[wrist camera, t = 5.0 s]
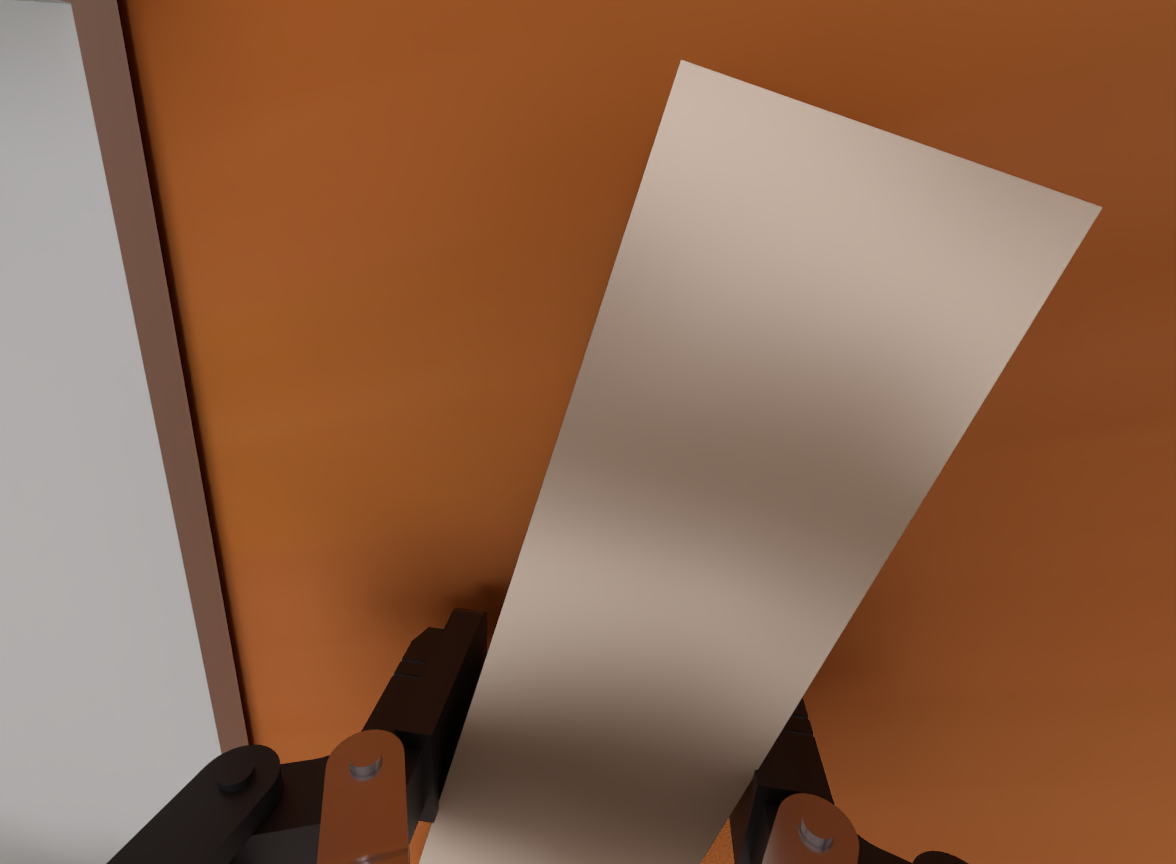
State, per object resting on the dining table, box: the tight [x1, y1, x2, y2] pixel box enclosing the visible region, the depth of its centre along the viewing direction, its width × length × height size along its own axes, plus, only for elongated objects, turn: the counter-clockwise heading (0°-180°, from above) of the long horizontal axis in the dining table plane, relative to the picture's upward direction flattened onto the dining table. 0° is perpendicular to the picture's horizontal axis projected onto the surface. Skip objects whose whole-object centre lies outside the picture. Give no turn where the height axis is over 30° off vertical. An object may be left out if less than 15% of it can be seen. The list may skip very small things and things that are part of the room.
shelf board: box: [419, 60, 1102, 864], centre depth 13 cm, size 22×5×4 cm, turn 162°
